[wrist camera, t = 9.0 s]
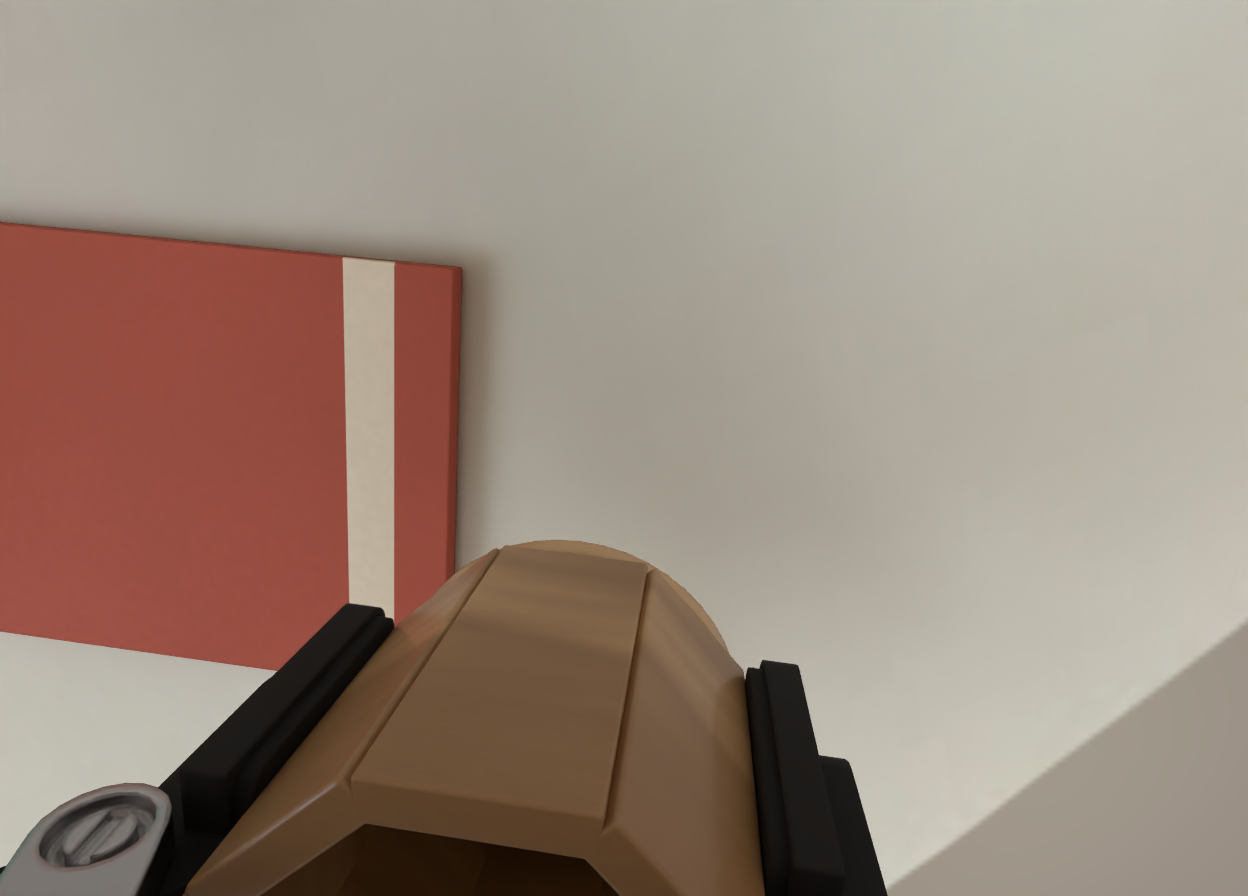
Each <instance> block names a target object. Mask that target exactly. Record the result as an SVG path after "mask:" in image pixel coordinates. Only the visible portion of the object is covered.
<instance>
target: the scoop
mask: <svg viewBox="0 0 1248 896" xmlns="http://www.w3.org/2000/svg"><path fill="white" fill-rule="evenodd" d="M182 896H765V886H764V876H763V865H762V855H761V844H760V834H759V824H758V813H757V803H756V793H755V782H754V772H753V762H752V751H751V741H750V730H749V720H748V710H747V699H746V689H745V679H744V672H743V670H742V669H741V667H740V666H739V665H738V664H737V663H736V662H735V660H734V659H733V658H732V657H731V656H730V655H729V652H728V649H727V647H726V644H725V642H724V640H723V638H722V636H721V634H720V633H719V631H718V629H717V627H716V625H715V624H714V622H713V621H712V619H711V618H710V617H709V615H708V614H707V613H706V611H705V610H704V609H703V607H702V606H701V605H700V604H699V603H698V602H697V601H696V600H695V599H694V598H693V597H692V596H691V594H690V593H689V592H688V591H687V590H686V589H685V588H683V587H682V586H681V585H679V584H678V583H677V582H676V581H674V580H673V579H672V578H671V577H669V576H668V575H667V574H665V573H664V572H662V571H660V570H659V569H657V568H655V567H654V566H652V565H651V564H649V563H647V562H645V561H643V560H641V559H639V558H636V557H634V556H632V555H630V554H628V553H625V552H622V551H619V550H616V549H613V548H610V547H606V546H603V545H598V544H592V543H587V542H582V541H568V540H546V541H533V542H527V543H522V544H517V545H512V546H508V545H506V546H504V547H503V549H500V550H499V549H497V548H496V549H493V550H492V551H490V552H489V553H488V554H487V555H485V556H483V557H481V558H479V559H477V560H474V561H473V562H471V563H470V564H468V565H467V566H465V567H464V568H462V569H461V570H459V571H458V572H456V573H455V574H454V575H453V576H452V577H450V578H449V579H448V580H447V581H446V582H445V583H444V584H443V585H442V586H441V587H440V588H439V589H438V590H437V592H436V593H435V594H434V595H433V596H432V597H431V598H430V599H429V600H428V601H426V602H425V603H424V604H422V605H421V606H420V607H419V608H417V609H416V610H415V611H413V612H412V613H411V614H410V615H408V616H407V617H406V618H404V619H403V620H402V621H401V622H399V623H398V625H397V626H396V627H395V628H394V629H393V631H392V632H391V633H390V634H389V636H388V637H387V638H386V639H385V641H384V642H383V643H382V644H381V646H380V647H379V648H378V649H377V651H376V652H375V653H374V654H373V655H372V657H371V658H370V659H369V660H368V662H367V663H366V664H365V665H364V667H363V668H362V669H361V670H360V672H359V673H358V674H357V675H356V676H355V678H354V679H353V680H352V681H351V683H350V684H349V685H348V686H347V688H346V689H345V690H344V691H343V693H342V694H341V695H340V696H339V698H338V699H337V700H336V701H335V702H334V704H333V705H332V706H331V707H330V709H329V710H328V711H327V712H326V714H325V715H324V716H323V717H322V719H321V720H320V721H319V722H318V723H317V725H316V726H315V727H314V728H313V730H312V731H311V732H310V733H309V735H308V736H307V737H306V738H305V740H304V741H303V742H302V743H301V745H300V746H299V747H298V748H297V749H296V751H295V752H294V753H293V754H292V756H291V757H290V758H289V759H288V761H287V762H286V763H285V764H284V766H283V767H282V768H281V769H280V770H279V772H278V773H277V774H276V775H275V777H274V778H273V779H272V780H271V782H270V783H269V784H268V785H267V787H266V788H265V789H264V790H263V791H262V793H261V794H260V795H259V796H258V798H257V799H256V800H255V801H254V803H253V804H252V805H251V806H250V808H249V809H248V810H247V811H246V813H245V814H244V815H243V816H242V817H241V819H240V820H239V821H238V822H237V824H236V825H235V826H234V827H233V829H232V830H231V831H230V832H229V834H228V835H227V836H226V837H225V838H224V840H223V841H222V842H221V843H220V845H219V846H218V847H217V848H216V850H215V851H214V852H213V853H212V855H211V856H210V857H209V858H208V860H207V861H206V862H205V863H204V864H203V866H202V867H201V868H200V869H199V871H198V872H197V873H196V874H195V876H194V877H193V878H192V879H191V881H190V882H189V883H188V885H187V887H186V889H185V893H184V894H183V895H182Z"/></svg>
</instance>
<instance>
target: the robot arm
mask: <svg viewBox="0 0 1248 896" xmlns="http://www.w3.org/2000/svg"><path fill="white" fill-rule="evenodd" d="M394 628H395V626H394V621H393V619H392V618H388V617H385V612H384V610H383V609H382V608H381V607H374V606H367V605H359V604H352V603H347V604H345V605H344V606H343V607H342V608H341V609H340V610H339V611H338V612H337V613H336V614H335V615H334V616H333V617H332V618H331V619H330V620H329V621H328V622H327V623H326V624H325V625H324V626H323V627H322V628H321V629H320V630H319V631H318V632H316V633H315V634H314V635H313V636H312V637H311V638H310V639H309V640H308V641H307V642H306V643H305V644H304V645H303V646H302V647H301V648H300V649H299V650H298V651H297V652H296V653H295V654H294V655H293V656H292V657H291V658H290V659H289V660H288V661H287V662H286V663H285V664H284V665H283V666H282V667H281V668H280V669H279V670H278V671H277V672H276V673H275V674H274V675H273V676H272V677H271V678H270V679H268V680H267V681H266V682H264V683H263V684H262V685H261V686H260V687H259V688H258V689H257V690H256V691H255V692H254V693H253V694H252V695H251V696H250V697H249V698H248V699H247V700H246V701H245V702H244V703H243V704H242V705H241V706H240V707H239V708H238V709H237V710H236V711H235V712H234V713H233V714H232V715H231V716H230V717H229V718H228V719H227V720H226V721H225V722H224V723H223V724H222V725H221V726H220V727H219V728H218V729H217V730H216V731H215V732H214V733H213V734H212V735H211V736H210V737H209V738H208V739H207V740H206V741H205V742H204V743H202V744H201V745H200V746H199V747H198V748H197V749H196V750H195V751H194V752H193V753H192V754H191V755H190V756H189V757H188V758H187V759H186V760H185V761H184V762H183V763H182V764H181V765H180V766H179V767H178V768H177V769H176V770H175V771H174V772H173V773H172V774H171V775H170V776H169V777H168V778H167V779H166V780H165V781H164V782H163V783H162V784H161V785H160V786H159V787H154V786H151V785H147V784H144V783H123V784H117V785H111V786H105V787H102V788H99V789H96V790H93V791H90V792H87V793H84V794H81V795H79V796H77V797H75V798H73V799H71V800H70V801H68V802H66V803H64V804H62V805H60V806H59V807H57V808H56V809H54V810H53V811H52V812H50V813H49V814H48V815H46V816H45V817H44V818H42V819H41V820H40V821H39V822H38V824H37V825H36V826H35V827H34V828H33V829H32V830H31V831H30V833H29V834H28V835H27V836H26V838H25V839H24V841H23V842H22V844H21V845H20V847H19V848H18V850H17V851H16V853H15V854H14V856H13V857H12V859H11V860H10V862H9V863H8V864H7V866H4V867H1V868H0V896H182V895H183V894H184V893H185V889H186V887H187V885H188V883H189V882H190V881H191V879H192V878H193V877H194V876H195V874H196V873H197V872H198V871H199V869H200V868H201V867H202V866H203V864H204V863H205V862H206V861H207V860H208V858H209V857H210V856H211V855H212V853H213V852H214V851H215V850H216V848H217V847H218V846H219V845H220V843H221V842H222V841H223V840H224V838H225V837H226V836H227V835H228V834H229V832H230V831H231V830H232V829H233V827H234V826H235V825H236V824H237V822H238V821H239V820H240V819H241V817H242V816H243V815H244V814H245V813H246V811H247V810H248V809H249V808H250V806H251V805H252V804H253V803H254V801H255V800H256V799H257V798H258V796H259V795H260V794H261V793H262V791H263V790H264V789H265V788H266V787H267V785H268V784H269V783H270V782H271V780H272V779H273V778H274V777H275V775H276V774H277V773H278V772H279V770H280V769H281V768H282V767H283V766H284V764H285V763H286V762H287V761H288V759H289V758H290V757H291V756H292V754H293V753H294V752H295V751H296V749H297V748H298V747H299V746H300V745H301V743H302V742H303V741H304V740H305V738H306V737H307V736H308V735H309V733H310V732H311V731H312V730H313V728H314V727H315V726H316V725H317V723H318V722H319V721H320V720H321V719H322V717H323V716H324V715H325V714H326V712H327V711H328V710H329V709H330V707H331V706H332V705H333V704H334V702H335V701H336V700H337V699H338V698H339V696H340V695H341V694H342V693H343V691H344V690H345V689H346V688H347V686H348V685H349V684H350V683H351V681H352V680H353V679H354V678H355V676H356V675H357V674H358V673H359V672H360V670H361V669H362V668H363V667H364V665H365V664H366V663H367V662H368V660H369V659H370V658H371V657H372V655H373V654H374V653H375V652H376V651H377V649H378V648H379V647H380V646H381V644H382V643H383V642H384V641H385V639H386V638H387V637H388V636H389V634H390V633H391V632H392V631H393V629H394ZM745 689H746V699H747V710H748V720H749V730H750V741H751V751H752V762H753V772H754V782H755V793H756V803H757V813H758V824H759V834H760V844H761V855H762V865H763V876H764V886H765V896H887V892H886V888H885V885H884V881H883V878H882V874H881V871H880V867H879V864H878V860H877V857H876V853H875V850H874V846H873V842H872V839H871V835H870V832H869V828H868V825H867V821H866V818H865V814H864V811H863V807H862V804H861V800H860V797H859V793H858V790H857V786H856V783H855V779H854V776H853V772H852V769H851V766H850V764H849V762H848V761H847V760H846V759H841V758H834V757H828V756H821V755H819V754H818V749H817V745H816V741H815V736H814V732H813V727H812V723H811V719H810V714H809V710H808V705H807V701H806V697H805V692H804V688H803V683H802V679H801V675H800V670H799V667H798V665H796V664H788V663H781V662H774V661H767V660H762V662H761V665H760V669H756V668H749V667H748V669H747V673H746V679H745Z"/></svg>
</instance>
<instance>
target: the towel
mask: <svg viewBox="0 0 1248 896" xmlns="http://www.w3.org/2000/svg"><path fill="white" fill-rule="evenodd" d="M461 292H462V268H460V267H454V266H444V265H434V264H424V263H413V262H404V261H394V260H383V259H373V258H363V257H352V256H342V255H332V254H322V253H312V252H301V251H291V250H281V249H271V248H261V247H250V246H240V245H230V244H220V243H210V242H199V241H189V240H179V239H169V238H159V237H148V236H138V235H128V234H118V233H108V232H97V231H87V230H77V229H67V228H57V227H46V226H36V225H26V224H16V223H6V222H0V631H1V632H8V633H15V634H22V635H29V636H36V637H43V638H50V639H57V640H64V641H71V642H78V643H85V644H92V645H99V646H106V647H113V648H120V649H127V650H134V651H141V652H148V653H155V654H162V655H169V656H176V657H183V658H190V659H197V660H204V661H212V662H219V663H226V664H233V665H240V666H247V667H254V668H261V669H268V670H275V671H278V670H279V669H280V668H281V667H282V666H283V665H284V664H285V663H286V662H287V661H288V660H289V659H290V658H291V657H292V656H293V655H294V654H295V653H296V652H297V651H298V650H299V649H300V648H301V647H302V646H303V645H304V644H305V643H306V642H307V641H308V640H309V639H310V638H311V637H312V636H313V635H314V634H315V633H316V632H318V631H319V630H320V629H321V628H322V627H323V626H324V625H325V624H326V623H327V622H328V621H329V620H330V619H331V618H332V617H333V616H334V615H335V614H336V613H337V612H338V611H339V610H340V609H341V608H342V607H343V606H344V605H345V604H347V603H352V604H359V605H367V606H374V607H381V608H382V609H383V610H384V612H385V617H388V618H392V619H393V621H394V626H395V627H396V626H397V625H398V623H399V622H401V621H402V620H403V619H404V618H406V617H407V616H408V615H410V614H411V613H412V612H413V611H415V610H416V609H417V608H419V607H420V606H421V605H422V604H424V603H425V602H426V601H428V600H429V599H430V598H431V597H432V596H433V595H434V594H435V593H436V592H437V590H438V589H439V588H440V587H441V586H442V585H443V584H444V583H445V582H446V581H447V580H448V579H449V578H450V577H452V576H453V575H454V563H455V524H456V486H457V447H458V408H459V370H460V331H461Z"/></svg>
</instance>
